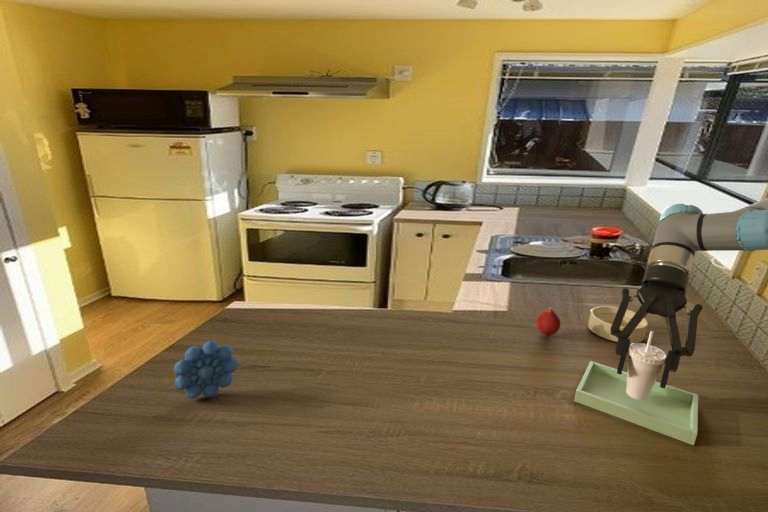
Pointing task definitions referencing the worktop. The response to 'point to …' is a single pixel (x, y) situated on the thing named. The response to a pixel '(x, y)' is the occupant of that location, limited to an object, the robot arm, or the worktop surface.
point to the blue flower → (205, 369)
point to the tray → (640, 403)
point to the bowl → (604, 318)
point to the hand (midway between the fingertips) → (640, 378)
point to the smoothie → (643, 368)
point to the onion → (548, 322)
